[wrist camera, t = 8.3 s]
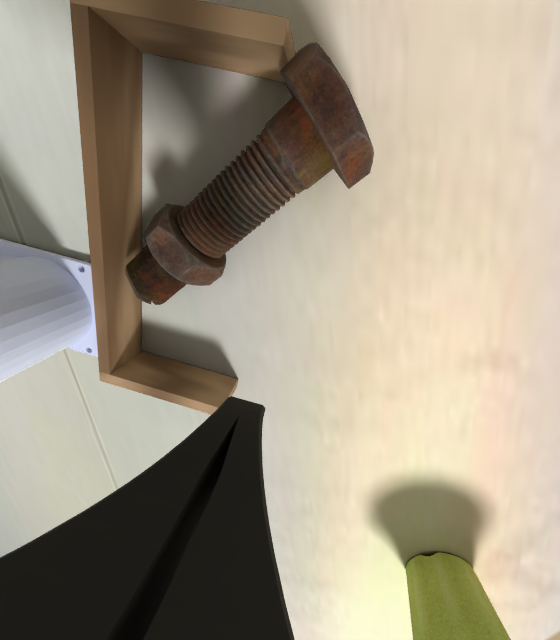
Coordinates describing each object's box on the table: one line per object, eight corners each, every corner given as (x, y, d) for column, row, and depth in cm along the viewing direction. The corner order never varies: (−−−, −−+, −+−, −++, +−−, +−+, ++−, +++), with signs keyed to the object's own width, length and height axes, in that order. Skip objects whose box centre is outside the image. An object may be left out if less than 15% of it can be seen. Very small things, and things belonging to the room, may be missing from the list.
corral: (132, 356, 22) (99, 380, 19) (127, 29, 14) (67, -26, 11) (236, 386, 22) (220, 417, 18) (297, 64, 13) (288, 18, 10)
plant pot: (410, 527, 25) (450, 677, 17) (514, 559, 24) (606, 732, 16) (374, 576, 28) (392, 718, 20) (463, 605, 28) (516, 763, 20)
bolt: (169, 265, 21) (336, 116, 15) (189, 321, 19) (381, 182, 14) (86, 242, 16) (294, 1, 10) (107, 317, 14) (360, 91, 8)
